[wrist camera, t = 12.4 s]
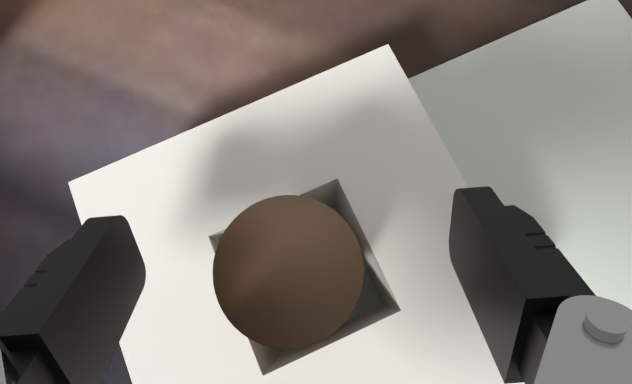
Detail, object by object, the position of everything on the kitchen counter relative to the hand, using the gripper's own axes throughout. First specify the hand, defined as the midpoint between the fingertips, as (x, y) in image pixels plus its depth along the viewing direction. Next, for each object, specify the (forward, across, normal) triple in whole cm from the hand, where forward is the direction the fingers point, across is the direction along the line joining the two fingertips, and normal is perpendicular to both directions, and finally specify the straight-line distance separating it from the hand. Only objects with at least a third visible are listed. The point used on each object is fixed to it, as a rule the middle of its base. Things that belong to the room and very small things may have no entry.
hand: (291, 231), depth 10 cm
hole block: (+5, 0, +6) cm, 8 cm away
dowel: (+5, 0, +6) cm, 8 cm away
